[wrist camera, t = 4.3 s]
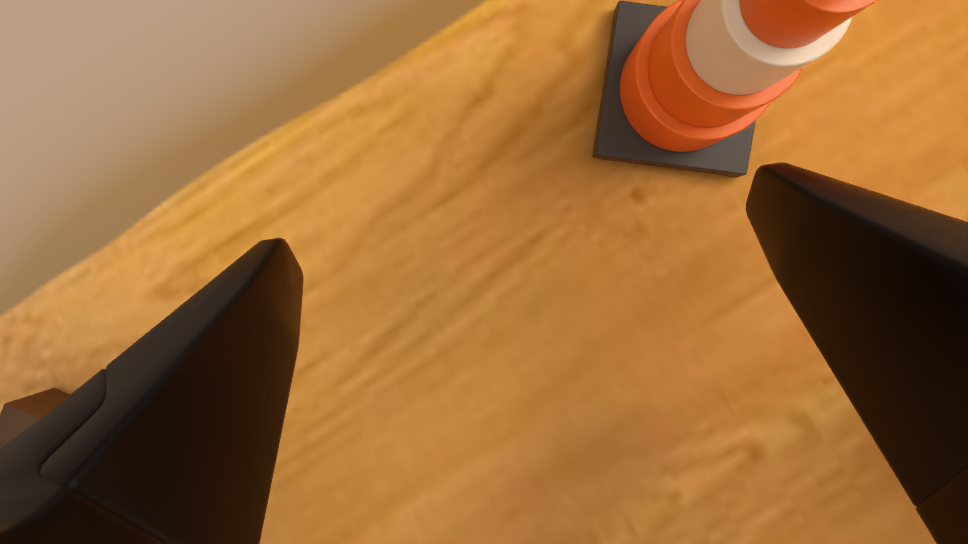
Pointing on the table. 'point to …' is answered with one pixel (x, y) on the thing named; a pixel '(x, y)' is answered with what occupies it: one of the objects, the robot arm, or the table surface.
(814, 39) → the cone
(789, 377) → the table surface
